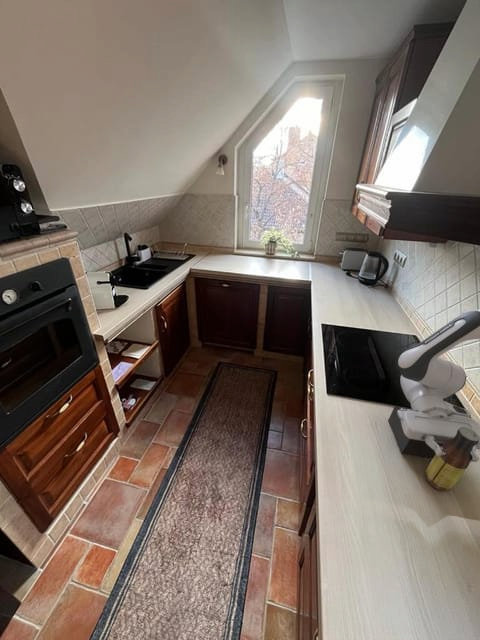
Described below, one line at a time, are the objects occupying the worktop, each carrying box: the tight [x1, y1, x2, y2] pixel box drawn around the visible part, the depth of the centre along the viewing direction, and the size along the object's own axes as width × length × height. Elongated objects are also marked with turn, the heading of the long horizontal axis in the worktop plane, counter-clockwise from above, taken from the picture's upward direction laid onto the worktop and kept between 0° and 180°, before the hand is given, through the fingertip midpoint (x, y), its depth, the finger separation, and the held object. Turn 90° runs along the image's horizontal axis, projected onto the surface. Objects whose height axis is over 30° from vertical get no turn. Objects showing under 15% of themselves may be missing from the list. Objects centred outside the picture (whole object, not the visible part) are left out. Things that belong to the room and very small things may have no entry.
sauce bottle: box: [424, 427, 480, 492], centre depth 65 cm, size 6×6×20 cm
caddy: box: [387, 406, 442, 460], centre depth 80 cm, size 11×12×7 cm
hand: (458, 457), depth 64 cm, fingers closed on sauce bottle, 6 cm apart
